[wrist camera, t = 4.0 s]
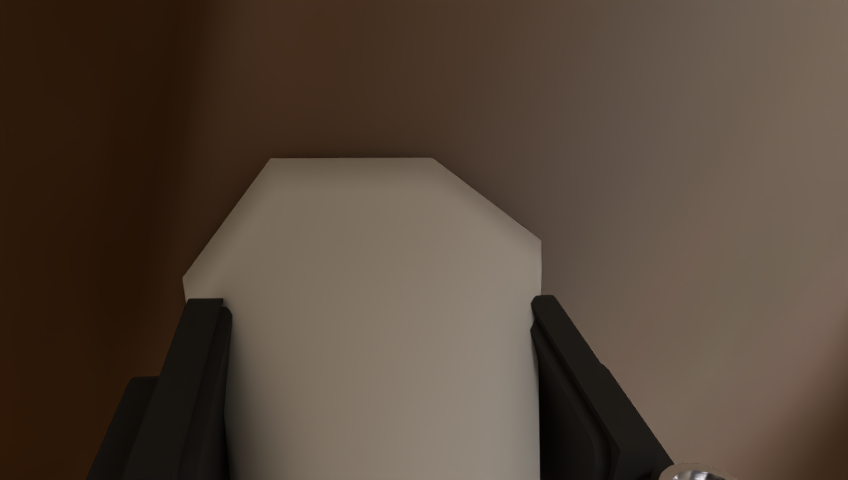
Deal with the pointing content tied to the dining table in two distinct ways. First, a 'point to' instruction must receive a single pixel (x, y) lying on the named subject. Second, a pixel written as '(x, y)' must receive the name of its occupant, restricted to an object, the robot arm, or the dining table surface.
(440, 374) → the flask
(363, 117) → the dining table surface
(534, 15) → the dining table surface
